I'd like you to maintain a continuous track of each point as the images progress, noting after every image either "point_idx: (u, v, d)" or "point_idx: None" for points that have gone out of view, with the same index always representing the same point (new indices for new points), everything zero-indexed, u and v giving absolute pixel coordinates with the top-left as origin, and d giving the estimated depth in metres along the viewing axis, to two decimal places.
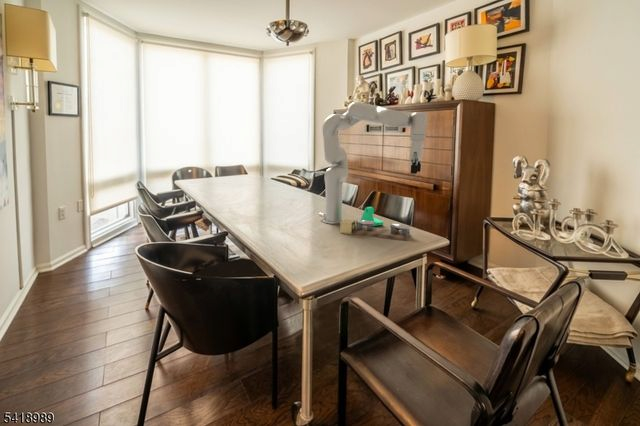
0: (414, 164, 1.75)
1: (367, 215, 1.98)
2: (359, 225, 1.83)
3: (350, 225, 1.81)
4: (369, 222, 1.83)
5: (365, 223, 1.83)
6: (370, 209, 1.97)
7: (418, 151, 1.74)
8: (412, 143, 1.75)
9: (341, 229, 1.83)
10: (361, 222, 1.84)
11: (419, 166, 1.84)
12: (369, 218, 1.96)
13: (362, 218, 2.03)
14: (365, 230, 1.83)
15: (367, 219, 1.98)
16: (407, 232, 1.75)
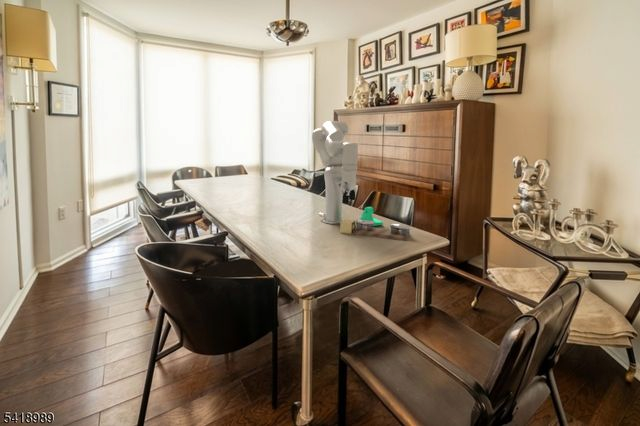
0: (345, 194, 1.75)
1: (366, 215, 1.98)
2: (359, 225, 1.83)
3: (350, 225, 1.81)
4: (369, 222, 1.83)
5: (365, 223, 1.83)
6: (369, 209, 1.96)
7: (349, 181, 1.74)
8: (343, 173, 1.75)
9: (341, 229, 1.83)
10: (361, 222, 1.84)
11: (353, 194, 1.85)
12: (368, 218, 1.96)
13: (362, 218, 2.03)
14: (365, 230, 1.83)
15: (366, 219, 1.98)
16: (407, 232, 1.75)
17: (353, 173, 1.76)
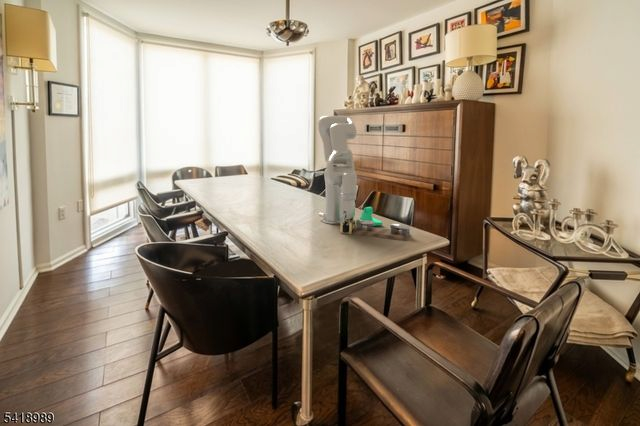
0: (345, 224, 1.80)
1: (366, 215, 1.98)
2: (359, 225, 1.83)
3: (350, 225, 1.81)
4: (369, 222, 1.83)
5: (365, 223, 1.83)
6: (369, 209, 1.96)
7: (347, 210, 1.78)
8: (342, 202, 1.79)
9: (341, 229, 1.83)
10: (361, 222, 1.84)
11: None
12: (368, 218, 1.96)
13: (361, 218, 2.03)
14: (365, 230, 1.83)
15: (366, 219, 1.98)
16: (407, 232, 1.75)
17: (352, 202, 1.80)
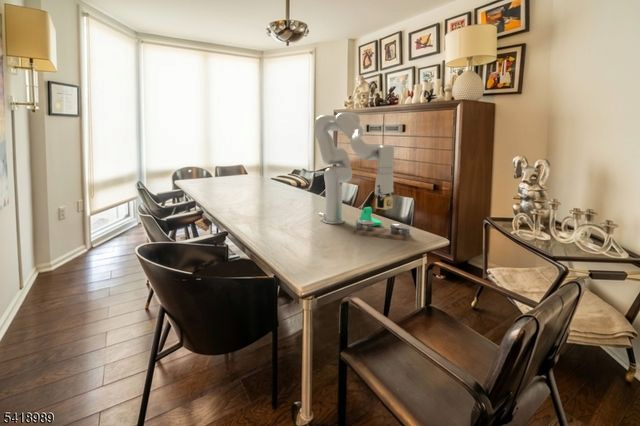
0: (379, 199, 1.75)
1: (365, 215, 1.97)
2: (359, 225, 1.83)
3: (384, 200, 1.75)
4: (369, 222, 1.83)
5: (365, 223, 1.83)
6: (368, 209, 1.96)
7: (381, 184, 1.72)
8: (377, 176, 1.74)
9: (376, 204, 1.79)
10: (361, 222, 1.84)
11: None
12: (367, 218, 1.96)
13: (361, 218, 2.03)
14: (365, 230, 1.83)
15: (365, 219, 1.98)
16: (407, 232, 1.75)
17: (387, 176, 1.73)
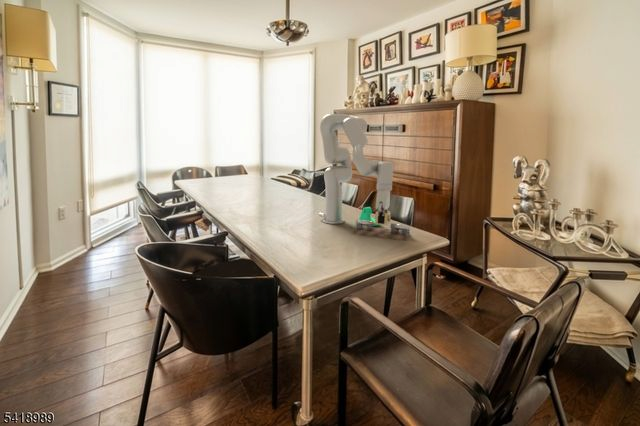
0: (381, 215, 1.76)
1: (365, 215, 1.97)
2: (359, 225, 1.83)
3: (386, 216, 1.77)
4: (369, 222, 1.83)
5: (365, 223, 1.83)
6: (368, 209, 1.96)
7: (384, 201, 1.74)
8: (378, 192, 1.75)
9: (376, 220, 1.79)
10: (361, 222, 1.84)
11: None
12: (367, 218, 1.96)
13: (360, 218, 2.03)
14: (365, 230, 1.83)
15: (365, 219, 1.98)
16: (407, 232, 1.75)
17: (388, 192, 1.76)
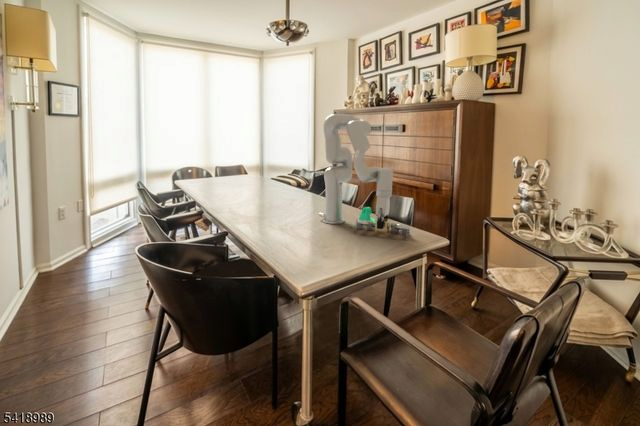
0: (380, 220, 1.75)
1: (364, 215, 1.97)
2: (359, 225, 1.83)
3: (385, 224, 1.78)
4: (369, 222, 1.83)
5: (365, 223, 1.83)
6: (367, 209, 1.96)
7: (384, 207, 1.75)
8: (378, 199, 1.75)
9: (376, 228, 1.80)
10: (361, 222, 1.84)
11: None
12: (366, 218, 1.96)
13: (360, 218, 2.03)
14: (365, 230, 1.83)
15: (364, 219, 1.98)
16: (407, 232, 1.75)
17: (388, 199, 1.76)
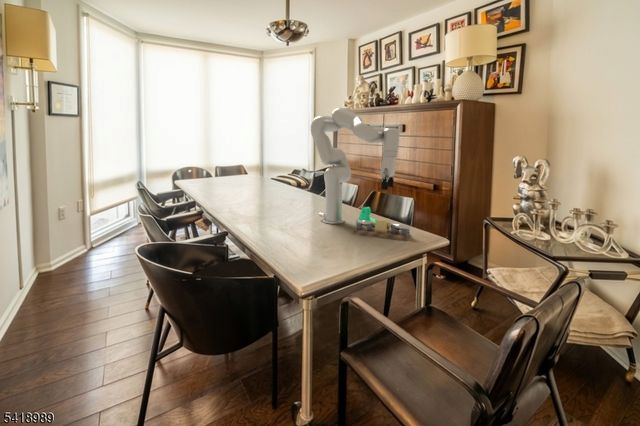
0: (384, 180, 1.73)
1: (364, 215, 1.97)
2: (359, 225, 1.83)
3: (385, 224, 1.78)
4: (369, 222, 1.83)
5: (365, 223, 1.83)
6: (367, 209, 1.96)
7: (389, 167, 1.73)
8: (383, 159, 1.73)
9: (376, 228, 1.80)
10: (361, 222, 1.84)
11: (392, 181, 1.83)
12: (366, 218, 1.95)
13: (359, 218, 2.02)
14: (365, 230, 1.83)
15: (364, 219, 1.98)
16: (407, 232, 1.75)
17: (393, 159, 1.74)
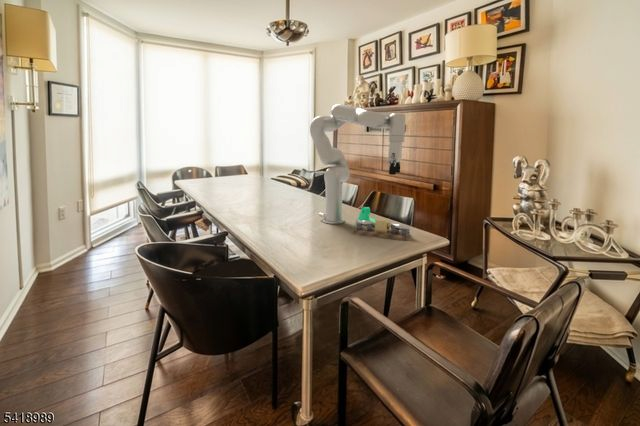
0: (392, 165, 1.74)
1: (363, 215, 1.97)
2: (359, 225, 1.83)
3: (385, 224, 1.78)
4: (369, 222, 1.83)
5: (365, 223, 1.83)
6: (366, 209, 1.96)
7: (396, 152, 1.74)
8: (390, 144, 1.75)
9: (376, 228, 1.80)
10: (361, 222, 1.84)
11: (398, 167, 1.84)
12: (365, 218, 1.95)
13: (359, 218, 2.02)
14: (365, 230, 1.83)
15: (363, 219, 1.97)
16: (407, 232, 1.75)
17: (400, 144, 1.76)
